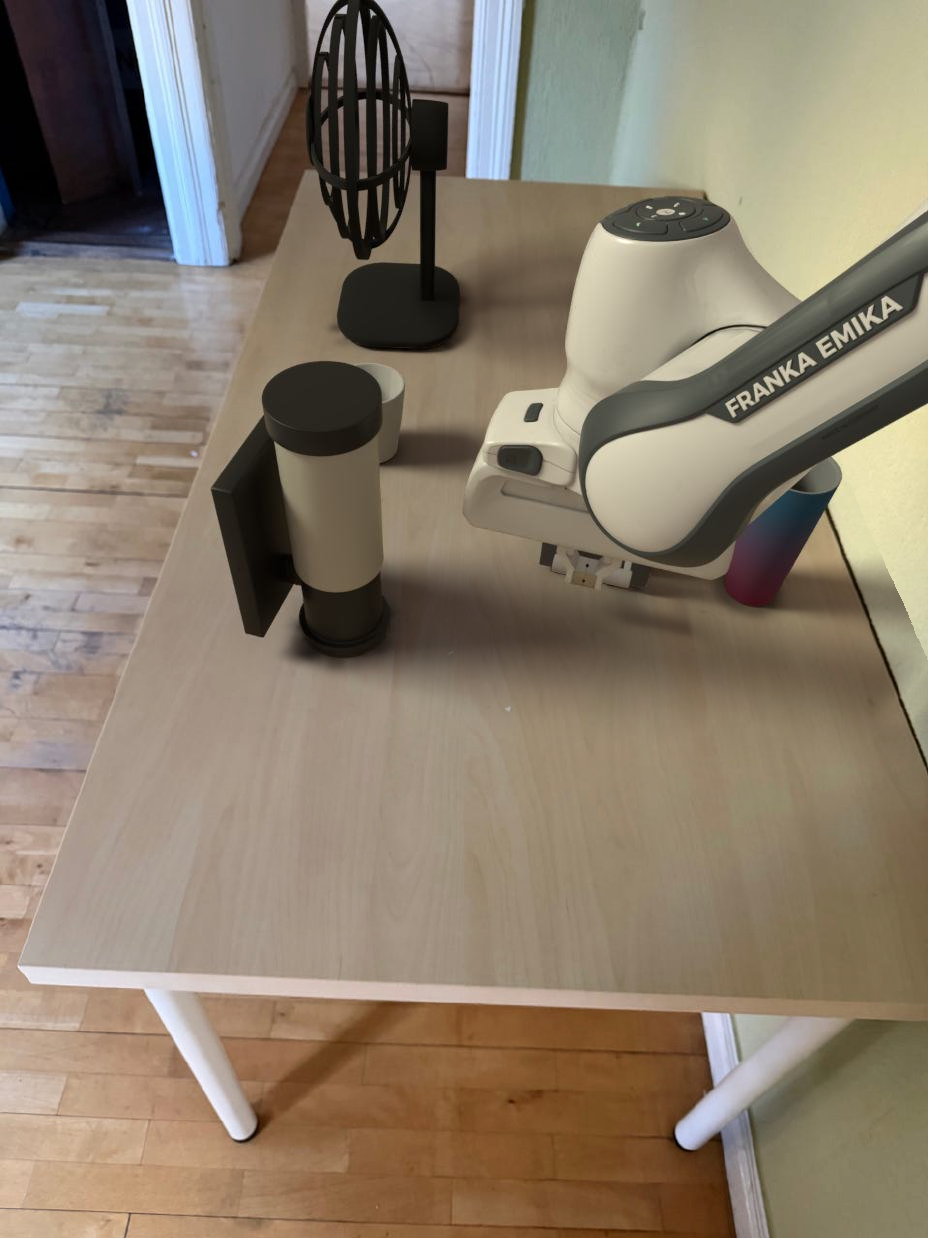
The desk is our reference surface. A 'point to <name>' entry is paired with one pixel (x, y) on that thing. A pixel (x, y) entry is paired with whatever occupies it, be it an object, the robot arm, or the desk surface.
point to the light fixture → (310, 508)
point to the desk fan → (382, 292)
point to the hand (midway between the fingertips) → (583, 580)
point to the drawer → (620, 577)
